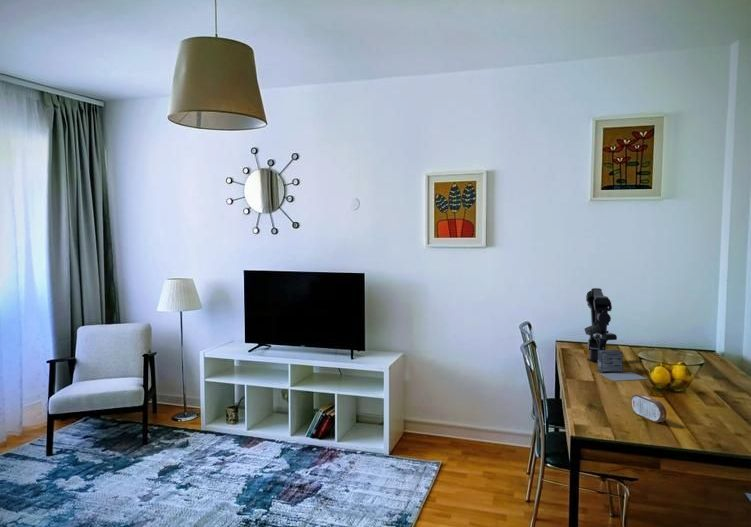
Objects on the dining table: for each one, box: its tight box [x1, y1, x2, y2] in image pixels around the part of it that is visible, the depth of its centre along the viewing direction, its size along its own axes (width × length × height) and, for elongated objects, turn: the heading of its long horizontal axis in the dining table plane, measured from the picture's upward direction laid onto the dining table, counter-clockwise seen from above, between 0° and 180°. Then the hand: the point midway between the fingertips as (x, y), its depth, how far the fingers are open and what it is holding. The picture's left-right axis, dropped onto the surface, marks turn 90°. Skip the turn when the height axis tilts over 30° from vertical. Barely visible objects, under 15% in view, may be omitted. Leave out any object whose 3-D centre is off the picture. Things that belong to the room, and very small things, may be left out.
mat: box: [599, 371, 648, 382], centre depth 251 cm, size 12×18×1 cm, turn 101°
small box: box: [597, 349, 624, 373], centre depth 260 cm, size 11×6×10 cm, turn 84°
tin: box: [630, 393, 667, 423], centre depth 194 cm, size 15×3×8 cm, turn 17°
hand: (600, 350), depth 268 cm, fingers closed
